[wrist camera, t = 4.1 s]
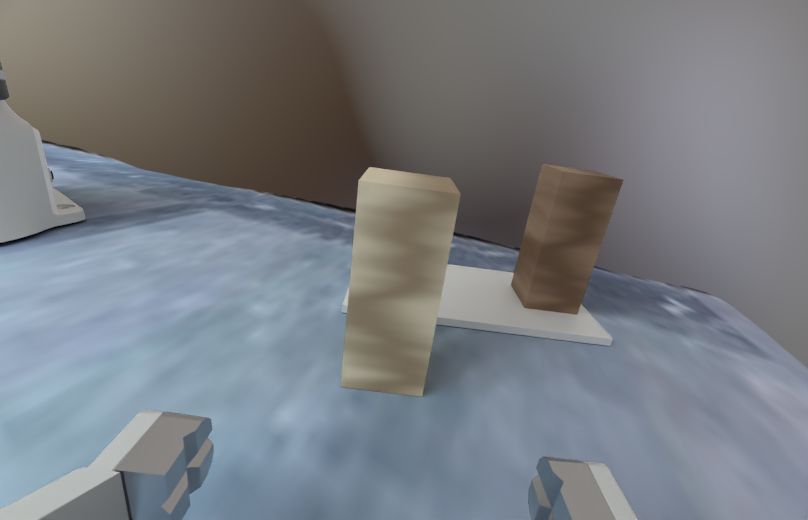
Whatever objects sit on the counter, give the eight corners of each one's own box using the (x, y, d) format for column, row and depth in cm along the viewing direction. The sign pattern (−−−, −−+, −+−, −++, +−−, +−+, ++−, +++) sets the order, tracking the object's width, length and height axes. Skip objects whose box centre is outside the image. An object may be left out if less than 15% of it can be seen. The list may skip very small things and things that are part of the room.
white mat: (341, 312, 27) (341, 304, 27) (360, 258, 37) (361, 252, 37) (610, 346, 28) (613, 338, 27) (556, 283, 38) (558, 278, 38)
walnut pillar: (524, 308, 30) (562, 171, 26) (510, 285, 34) (542, 164, 30) (577, 314, 30) (623, 179, 26) (557, 291, 35) (594, 171, 31)
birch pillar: (340, 386, 20) (358, 180, 16) (352, 340, 24) (369, 167, 20) (422, 396, 20) (460, 194, 16) (420, 348, 24) (450, 178, 20)
